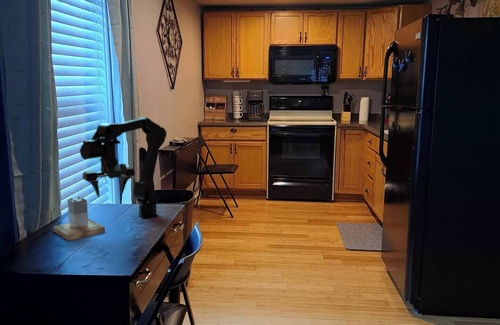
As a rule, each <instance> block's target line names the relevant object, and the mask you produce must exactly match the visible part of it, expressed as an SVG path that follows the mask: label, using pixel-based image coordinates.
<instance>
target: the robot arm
mask: <svg viewBox="0 0 500 325" xmlns="http://www.w3.org/2000/svg"><path fill="white" fill-rule="evenodd" d="M140 129H141V131H142V132H143V133H144V134H145V141H146V144H147V149H146V153H145V159H144V162H143V163H144V164H143V168H142V171H141V177H140V179H139V180H138V181H135V182H134V186H133V189H132V191H133V196H134V197H135V199H136V201H137V202H139V206H138V216H140V217H141V218H143V219H150V218H154V217H158V216H159V214H158V213H157V204H158V203H159V202H160V196H159V195H158V194H156V193H155V192H156V190H155V188H156V187H155V184H154V176H155V172H156V166H157V160H158V156H159V152H160V149H161V147H162V146H163V144H164V143H165V140H166V138H167V130H166V129H165V128H164V127H162V126H160V125H159V124H158V123H156V122H154V121H153V120H151V119H150V118H149V117H143V116H142V117H138V118H136V119H130V120H126V121H122V122H118V123H113V122H112V123H111V122H110V123H109V122H108V123H107V122H105V123H99V124H98V125H97V128H96V130H95V132H94V134H93V136H92V138H91V140H83V141H82V144H81V146H80V149H79V153H80V157H81V158H82V159H83V160H91V159H99V161H100V171H99V172H96V171H94V170H88V171H83V173H82V180H84V181H86V182H88V183H90V184H91V186H92V187H93V189H94V193H95V194H96V196H97V197H98V198H100V188H99V180H98V179H99V178H105V177H108V178H109V179H114V178H115V179H116V178H118V179H119V188H120V190H119V191H120V194H124V191H125V188H126V185H127V183H128V181H129V179H132V177H134V176H136V171H135V169H134V168H133V167H130V166H127V164H126V163H120V164H119V163H118V158H117V148H116V145H119V144H121V141H120V140H118V139H117V138H118V137H120V136H121V135H123V134H124V133H129V132H131V131H136V130H140ZM137 202H136V203H137Z"/></svg>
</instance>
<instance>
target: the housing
mask: <svg viewBox="0 0 500 325" xmlns="http://www.w3.org/2000/svg"><path fill="white" fill-rule="evenodd" d="M67 209H68V223H69V226H71V227H73V228H75V229H78V228H82V227H86V226H88V219H89V215H88V214H89V213H88V200H87V199H86V198H84V197H82V196H78V197H77V196H76V197H70V198H68V199H67Z"/></svg>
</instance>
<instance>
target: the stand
mask: <svg viewBox="0 0 500 325" xmlns="http://www.w3.org/2000/svg"><path fill="white" fill-rule="evenodd" d="M52 227H53V233H56V234H57V235H58V236H60V237H61V238H63V239H65V240H67V241H68V242H69V241H72V240H77V239H81V238H85V237H88V236H89V237H90V236H93V235H97V234H102V233H105V232H106V227H105V226H104V225H102V224H100V223H98V222H96V221H95V220H92V219H91V218H88V226H86V227H82V228H78V229H75V228H73V227H71V226H69V222H67V223H63V224H57V225H54V226H52Z"/></svg>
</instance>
